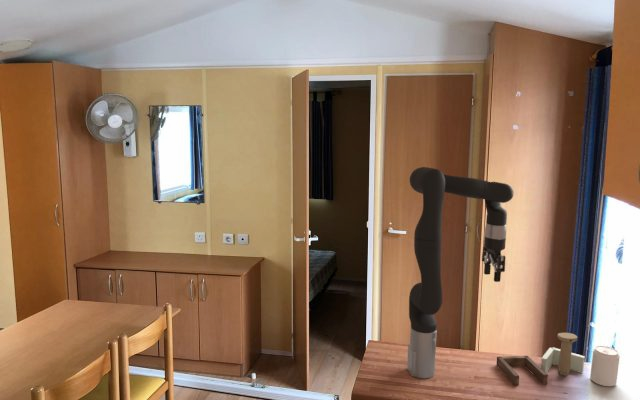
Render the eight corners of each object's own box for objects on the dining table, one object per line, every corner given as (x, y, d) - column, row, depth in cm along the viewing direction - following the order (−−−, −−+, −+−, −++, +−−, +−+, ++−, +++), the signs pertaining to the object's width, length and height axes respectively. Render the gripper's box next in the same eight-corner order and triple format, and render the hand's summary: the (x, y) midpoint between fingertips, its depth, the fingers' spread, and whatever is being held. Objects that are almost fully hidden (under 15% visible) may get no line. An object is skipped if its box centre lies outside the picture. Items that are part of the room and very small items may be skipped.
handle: (575, 377, 176) (579, 338, 173) (558, 377, 176) (562, 338, 173) (568, 370, 180) (572, 332, 178) (551, 370, 180) (555, 332, 178)
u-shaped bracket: (514, 385, 170) (515, 375, 169) (496, 365, 184) (497, 356, 183) (547, 383, 171) (547, 374, 171) (526, 364, 185) (527, 355, 184)
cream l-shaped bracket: (542, 374, 177) (543, 359, 176) (529, 362, 186) (530, 348, 185) (585, 373, 179) (586, 357, 178) (570, 361, 188) (572, 346, 187)
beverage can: (618, 381, 173) (622, 350, 171) (613, 390, 168) (616, 358, 166) (593, 373, 179) (596, 342, 177) (587, 381, 173) (590, 350, 171)
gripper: (477, 231, 187) (474, 272, 190) (493, 240, 173) (490, 284, 176) (496, 231, 188) (493, 271, 190) (514, 240, 174) (510, 284, 176)
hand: (491, 277), depth 183 cm, fingers open, 8 cm apart
